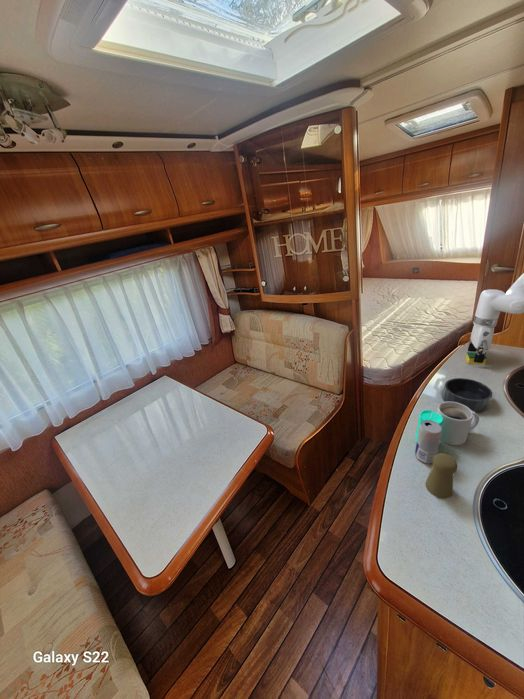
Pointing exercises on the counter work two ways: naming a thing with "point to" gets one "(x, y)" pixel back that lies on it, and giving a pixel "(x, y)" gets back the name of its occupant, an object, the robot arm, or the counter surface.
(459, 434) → the mug
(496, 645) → the counter surface
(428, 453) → the energy drink
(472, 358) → the sponge
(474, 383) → the bowl
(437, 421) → the candle
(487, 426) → the counter surface
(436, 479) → the cork
